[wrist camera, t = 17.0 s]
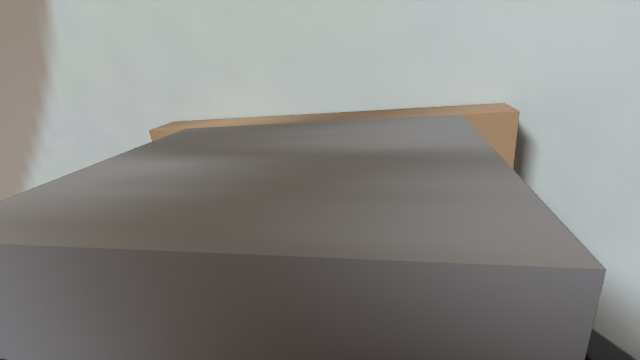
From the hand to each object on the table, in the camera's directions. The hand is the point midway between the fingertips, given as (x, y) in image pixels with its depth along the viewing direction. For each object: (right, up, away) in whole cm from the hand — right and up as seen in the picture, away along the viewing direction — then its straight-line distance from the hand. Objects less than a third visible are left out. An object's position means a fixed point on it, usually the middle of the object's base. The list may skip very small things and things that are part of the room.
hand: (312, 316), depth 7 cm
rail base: (+1, -3, +4) cm, 5 cm away
